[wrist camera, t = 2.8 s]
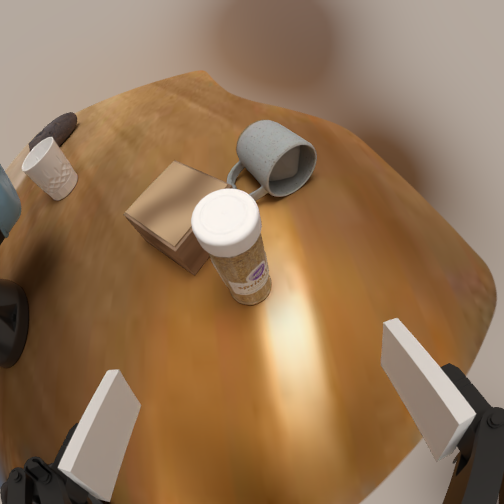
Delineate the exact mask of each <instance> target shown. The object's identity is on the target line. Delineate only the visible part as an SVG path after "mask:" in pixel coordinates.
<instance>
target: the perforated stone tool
mask: <svg viewBox="0 0 504 504" xmlns="http://www.w3.org/2000/svg"><path fill="white" fill-rule="evenodd" d="M76 124H77V116H76V115H75V114H74V113H71V112H70V113H66V114H63V115H61V116H59V117H58V118H56V119H55V120H53V121H52V122H51V123H49V124H48V125H47V126H46V127H45V128H44V129H43V130H42V131H41V132H40V133H39V134H37V135H36V136H35V137H34V139H33V140H32V141H31V142H30V143H29V148H30V152H31V150H32V149H33V148H34V147H35V146H36V145H37V144H39V143H40V142H41V141H42V140H44V139H46V138H48V137H53V139H54V140H55V142H56V143H57V145H58V146H60V145H61V144H62V143H63V142H64V141H65V139H67V137H68V136H69V135H70V134H71V133H72V131H73V130H74V128H75V126H76Z"/></svg>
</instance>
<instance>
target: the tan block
mask: <svg viewBox="0 0 504 504" xmlns="http://www.w3.org/2000/svg"><path fill="white" fill-rule="evenodd" d="M220 189H233V187H232V185H230V184H228V183H226V182H224V181H221V180H219V179H217V178H215V177H212V176H210V175H208V174H205V173H203V172H201V171H199V170H196V169H194V168H192V167H189V166H187V165H184V164H182V163H180V162H177V161H175V160H174V161H173V162H172V163H171V164H170V165H169V166H168V167H167V168H166V169H165V170H164V171H163V172H162V173H161V174H160V175H159V176H158V177H157V178H156V179H155V180H154V182H153V183H152V184H151V185H150V186H149V187H148V188H147V189H146V190H145V191H144V192H143V193H142V194H141V195H140V196H139V197H138V199H137V200H136V201H135V202H134V203H133V204H132V205H131V206H130V207H129V209H128V210H127V211H126V212H125V213H124V214H123V215H124V216H125V217H126V218H127V219H128V221H129V222H130V223H131V224H132V225H133V226H134V227H135V229H136V230H137V231H138V232H139V233H140V234H141V236H142V237H143V238H144V239H145V240H146V241H147V242H149V243H150V244H152V245H153V246H154V247H156V248H157V249H158V250H160V251H161V252H162V253H164V254H165V255H167V256H168V257H169V258H171V259H172V260H174V261H175V262H176V263H178V264H179V265H181V266H182V267H183V268H185V269H186V270H188V271H189V272H190V273H192V274H193V275H196V273H197V272H198V271H199V269H200V268H201V267H202V266H203V264H204V263H205V262H206V260H207V259H208V258H209V257H210V256H209V254H208V252H207V251H205V250H204V249H203V248H202V247H201V245H200V243H199V242H198V240H197V238H196V236H195V234H194V232H193V230H192V225H191V218H192V213H193V211H194V209H195V207H196V205H197V204H198V203H199V201H200V200H202V199H203V198H204V197H205V196H207V195H208V194H210V193H212V192H214V191H217V190H220Z"/></svg>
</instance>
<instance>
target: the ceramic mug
mask: <svg viewBox="0 0 504 504" xmlns="http://www.w3.org/2000/svg"><path fill="white" fill-rule="evenodd" d="M236 151H237V155H238V157H239V162H238V163H236V164H235V166H234V167H233V168H232V169H231V171H230V173H229V174H228V178H227V183H228V184H230V185H232V187H233V189H236V186H235V185H234V184H235V180H236V178H237V176H238V174H239V173H240V172H241V171H242V170H243V169H244V168H246V169H247V170H248V171H249V172H250V173H251V174H252V175H253V176H254V177H255V178H256V180H257V181H258V182H259V183H260V184H261V187H260V188H259V189H257V190H256V191H254V192H252V193H250V194H249V195H250V196H251V197H252V198H253V199H254V200H255V201H256V200H258V199H260V198H261V197H263V196H264V195H266V194H267V193H269V194H271V195H272V196H275V197H283V196H287V195H289V194H291V193H293V192H295V191H296V190H298V189H299V188H300V187H302V186H303V185H304V184H305V183H306V181H307V180H308V179H309V178H310V176H311V175H312V173H313V170H314V168H315V165H316V160H317V154H316V150H315V148H314V147H313V146H312V144H311V143H309V142H307V141H306V140H304V139H303V138H301V137H299V136H298V135H296V134H295V133H293V132H292V131H290V130H288V129H287V128H285V127H284V126H282V125H280V124H278V123H276V122H273V121H270V120H259V121H256V122H253V123H252V124H250V125H249V126H248V127H246V128H245V129H244V130H243V132H242V133H241V135H240V136H239V139H238V141H237V147H236Z"/></svg>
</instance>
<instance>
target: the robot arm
mask: <svg viewBox="0 0 504 504" xmlns="http://www.w3.org/2000/svg"><path fill="white" fill-rule="evenodd" d="M20 214H21V203H20V199H19V197H18V195H17V192H16V190H15V188H14V187H13V185H12V183H11V181H10V179H9V178H8V176H7V174H6V173H5V171H4V169H3V168H2V166H1V164H0V245H1V243H2V242H3V240H4V239H5V237H6V238H7V237H8V236H9V232H10V230H11V229H12V227H13V226H14V225H15V223H16V222H17V220H18V219H19V217H20ZM28 320H29V312H28V302H27V298H26V295H25V292H24V291H23V289H22V288H21V287H20V286H19V285H17V284H15V283H14V282H12V281H10V280H5V279H0V367H3V368H9V367H11V366H12V365H14V364H15V363H16V361H17V360H18V358H19V357H20V355H21V353H22V350H23V348H24V344H25V341H26V336H27V330H28ZM381 366H382V368H383V369H384V371H385V372H386V374H387V376H388V377H389V379H390V381H391V382H392V384H393V386H394V387H395V389H396V391H397V392H398V394H399V396H400V397H401V399H402V401H403V403H404V404H405V406H406V408H407V409H408V411H409V413H410V415H411V416H412V418H413V420H414V422H415V423H416V425H417V427H418V429H419V431H420V432H421V434H422V436H423V438H424V440H425V441H426V443H427V445H428V447H429V449H430V451H431V452H432V454H433V456H434V458H435V460H436V462H437V461H439V460H441V459H443V458H445V457H447V456H448V455H450V454H452V453H453V451H454V450H455V448H456V447H458V449H459V450H460V452H459V453H458V455H457V456H456V457H455V459H454V461H453V463H455V462H456V461H457V462H456V465H455V469H454V472H453V476H452V479H451V482H450V485H449V488H448V491H447V493H446V496H445V499H444V501H443V504H496V503H497V499H498V495H499V504H504V409H502V408H499V407H494V408H493V407H491V406H490V405H489V404H488V403H487V401H486V400H485V399H484V397H483V396H482V395H481V394H480V393H479V391H478V390H477V389H476V388H475V386H474V385H473V384H471V382H470V380H469V379H468V378H466V376H465V375H464V373H463V372H462V371H461V370H460V369H459V368H458V367H456V366H454V365H452V364H450V363H448V364H446V365H444V366H442V367H439V366H438V364H437V363H436V362H435V361H434V360H433V358H432V357H431V356H430V355H429V354H428V352H427V351H426V350H425V349H424V348H423V347H422V345H421V344H420V343H419V342H418V341H417V340H416V338H415V337H414V336H413V335H412V334H411V333H410V332H409V330H408V329H407V328H406V327H405V326H404V325H403V324H402V323H401V322H400V320H399V319H398V318H395V319H392V320H389V321H386V322H383V341H382V356H381ZM140 407H141V404H140V403H139V401H138V400H137V398H136V396H135V395H134V393H133V392H132V390H131V389H130V387H129V385H128V384H127V382H126V381H125V379H124V377H123V375H122V374H121V372H120V370H108V371H107V372H106V374H105V376H104V378H103V379H102V381H101V383H100V385H99V387H98V388H97V390H96V392H95V394H94V396H93V397H92V399H91V401H90V403H89V405H88V407H87V409H86V411H85V412H84V414H83V416H82V418H81V420H80V422H79V424H78V423H76V424H75V425H74V426H73V427H72V428H71V429H70V430H69V432H68V434H67V436H66V439H65V440H64V442H63V446H61V448H60V450H59V452H58V454H57V456H56V459H55V461H54V463H53V465H52V467H49V466H48V465H47V464H46V463H45V462H44V461H43V460H42V459H41V458H39V457H32V458H30V459H28V460H27V462H26V463H25V465H24V470H23V469H22V468H19V467H17V468H14V469H13V470H12V471H11V473H10V475H9V481H8V495H7V504H33V502H34V503H35V504H92V501H91V500H90V498H88V494H89V493H90V494H91V495H92V496H94V497H95V498H97V499H100V500H104V501H108V502H110V499H111V496H112V492H113V489H114V486H115V482H116V479H117V476H118V473H119V469H120V466H121V463H122V460H123V457H124V454H125V451H126V448H127V445H128V442H129V439H130V436H131V433H132V430H133V427H134V424H135V422H136V419H137V416H138V413H139V410H140Z"/></svg>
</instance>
